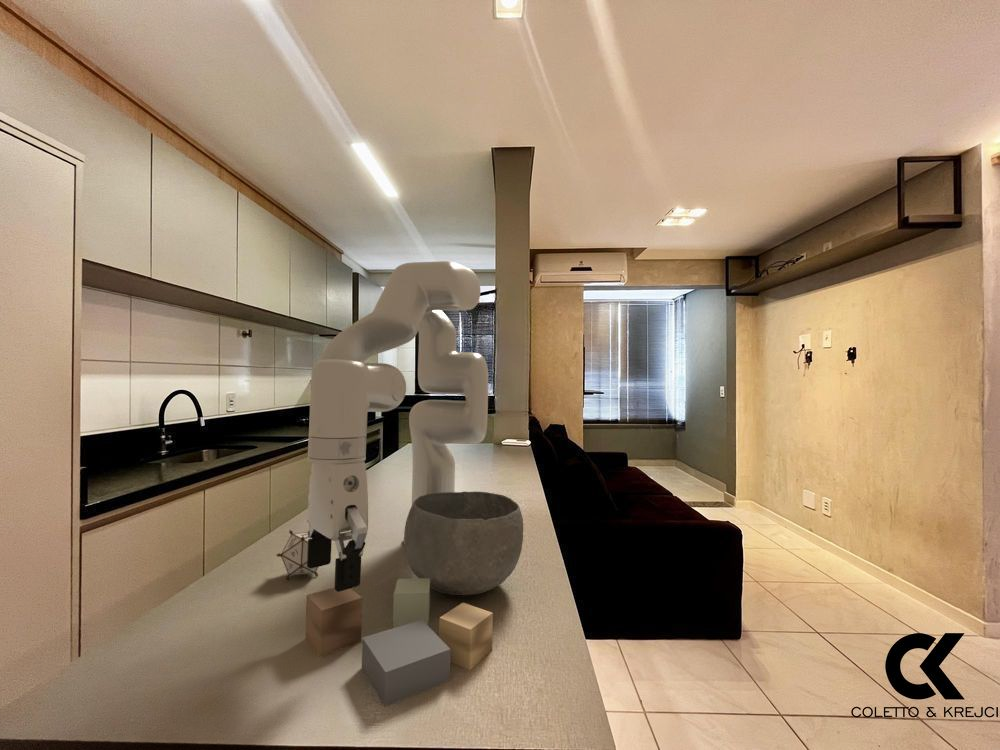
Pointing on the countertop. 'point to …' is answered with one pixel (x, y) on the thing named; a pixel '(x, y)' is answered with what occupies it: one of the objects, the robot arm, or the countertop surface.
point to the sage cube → (411, 601)
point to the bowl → (463, 540)
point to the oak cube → (467, 634)
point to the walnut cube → (333, 620)
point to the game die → (296, 555)
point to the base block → (405, 661)
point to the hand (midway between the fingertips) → (332, 576)
